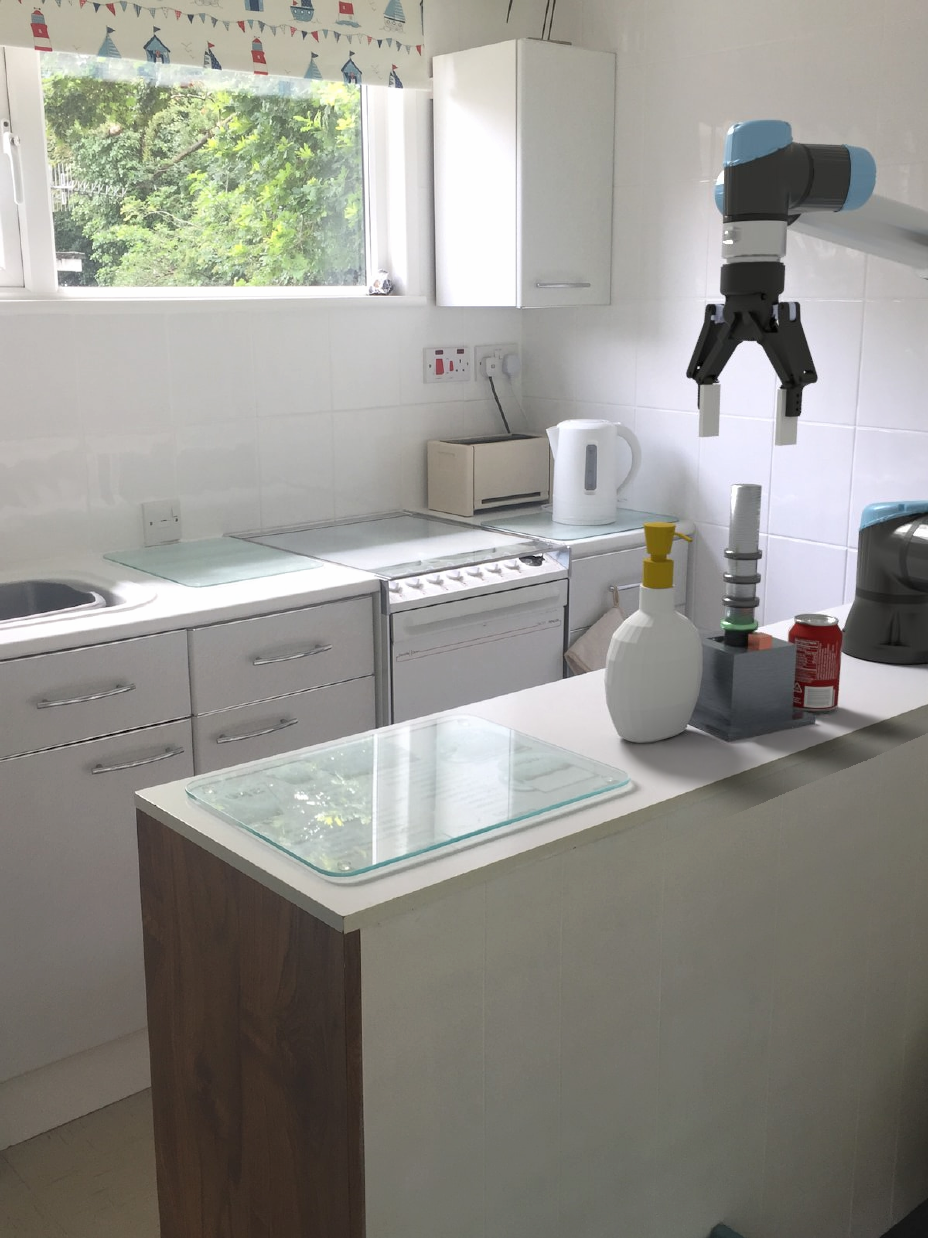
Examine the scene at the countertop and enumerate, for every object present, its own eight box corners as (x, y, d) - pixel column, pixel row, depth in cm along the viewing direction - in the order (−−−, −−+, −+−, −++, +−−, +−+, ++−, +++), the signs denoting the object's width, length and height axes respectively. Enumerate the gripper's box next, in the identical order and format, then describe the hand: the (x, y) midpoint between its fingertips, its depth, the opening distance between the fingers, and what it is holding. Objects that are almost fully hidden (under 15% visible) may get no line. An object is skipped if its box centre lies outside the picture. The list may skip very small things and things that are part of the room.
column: (739, 643, 155) (748, 482, 150) (764, 651, 151) (774, 486, 146) (711, 648, 153) (719, 484, 148) (736, 656, 149) (744, 489, 144)
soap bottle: (639, 758, 139) (646, 534, 133) (585, 738, 146) (590, 524, 140) (722, 734, 147) (733, 522, 141) (668, 715, 154) (676, 513, 148)
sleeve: (739, 694, 163) (744, 610, 160) (815, 723, 151) (821, 633, 148) (656, 709, 157) (659, 623, 154) (728, 741, 145) (733, 647, 142)
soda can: (839, 717, 153) (846, 625, 151) (784, 714, 155) (790, 623, 152) (834, 701, 160) (841, 613, 157) (782, 698, 161) (787, 611, 158)
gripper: (661, 265, 152) (657, 434, 158) (807, 255, 131) (797, 450, 137) (707, 266, 156) (701, 431, 161) (856, 255, 135) (844, 446, 140)
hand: (745, 440), depth 149 cm, fingers open, 13 cm apart
